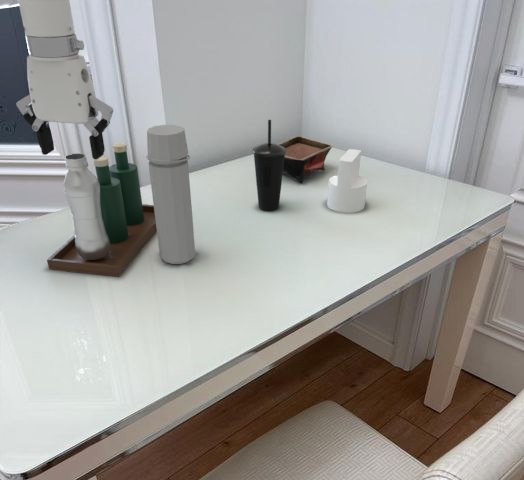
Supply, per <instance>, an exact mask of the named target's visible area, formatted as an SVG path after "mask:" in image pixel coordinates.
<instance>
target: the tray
mask: <svg viewBox="0 0 524 480" xmlns="http://www.w3.org/2000/svg"><path fill="white" fill-rule="evenodd" d="M142 206H143V213H144V221H143V222H142V223H140V224H137V225H132V226H127V228H128V234H129V237H128V239H126V240H125V241H123V242H120V243H110V251H109V253H108V255H107V256H106V257H104V258H101V259H97V260H86V259H83V258H82V257H81V256H80V255H79V254H78V252H77V250H76V247H75V234H74V235H72V236H71V237H70V238H69V239H68V240H67V241H65V243H64V244H62V245H61V246H60V247H59V248H58V249H57V250H56V251H55V252H54V253H52V254H51V255H50V256H49V257H47V259H46V263H47V266H48V270H52V271H60V272H68V273H69V272H71V273H79V274H88V275H97V276H106V277H117V278H119V277H120V276H121V275H122V274H123V272H124V271H125V270H126V269H127V268H128V266H129V265H130V264H131V263H132V262H133V261H134V259H135V258H136V257H137V256H138V254H139V253H140V252H141V251H142V250H143V248H145V246H146V245H147V243H148V242H149V241H150V240H151V239H152V238H153V237H154V235H155V234H157V228H156V220H155V212H154V204H144V203H142Z"/></svg>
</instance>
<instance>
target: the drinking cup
mask: <svg viewBox="0 0 524 480" xmlns="http://www.w3.org/2000/svg"><path fill="white" fill-rule="evenodd" d="M278 144H279V143H275V142H274V143H272V119H268V120H267V142H266V143H261V144H259V145H256V146H254V147H252V150H251V151H252V154H253V162H254V169H255V181H256V193H257V204H258V209H259V210H261V211H264V212H274V211H277V210H279V208H280V202H281V201H280V199H281V191H282V183H283V174H284V172H283V166H284V157H285V154H286V148H284V147H282V146H280V145H278Z"/></svg>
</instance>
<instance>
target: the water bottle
mask: <svg viewBox="0 0 524 480" xmlns="http://www.w3.org/2000/svg"><path fill="white" fill-rule="evenodd" d="M146 145H147V155H146V160H148V161H149V162H148V163H147V164H148V171H149V179H150V188H151V194H152V196H151V197H152V202H153V204H152V205H154V212H155V220H156V228H157V232H156V234H157V235H156V237H157V243H158V250H159V257H160V258H161V259H162V261H164V263H168V264H171V265H180V264H185V263H189V262H190V261H192V260H193V259H194V258H195V256H196V245H195V244H196V243H195V242H196V241H195V234H194V233H195V231H194V219H193V206H192V194H191V193H192V192H191V184H190V183H191V182H190V169H189V160H191V155H189V148H188V142H187V137H186V131H185V128H184V127H183V126H181V125H176V124H160V125H154V126H151V127H149V128H148V129H147V130H146Z"/></svg>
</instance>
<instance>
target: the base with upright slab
mask: <svg viewBox="0 0 524 480" xmlns="http://www.w3.org/2000/svg"><path fill="white" fill-rule="evenodd" d="M361 157H362V150H360V149H354V148H348V149H347V151H346V152H345V153H344V154H343V155H342V156H341V157H340V158H339V160H338V171H337V174H336V175H333V176H331V177H330V178H329V179H328V188H327V202H326V204H327V205H326V206H327V207H328V208H329V209H330V210H332V211H334V212H336V213H337V212H338V213H343V214H353V213H358V212H361V211H363V210H364V209H365V205H366V199H367V198H366V197H367V188H368V180H367V179H366V178H365V177H363V176H360V167H361Z"/></svg>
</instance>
